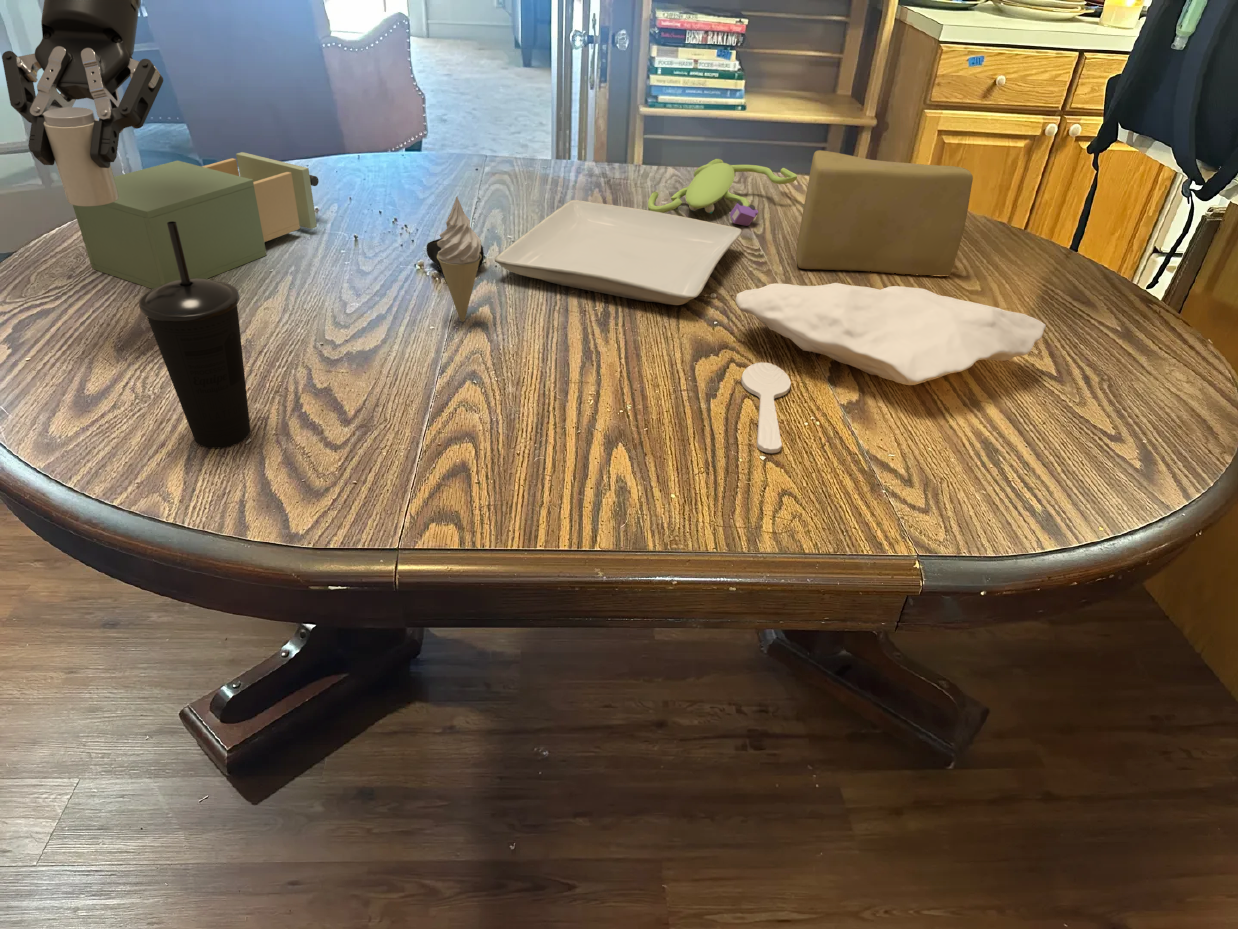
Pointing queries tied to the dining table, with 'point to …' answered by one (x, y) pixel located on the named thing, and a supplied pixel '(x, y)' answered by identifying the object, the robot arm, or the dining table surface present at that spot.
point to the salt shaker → (78, 157)
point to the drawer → (276, 192)
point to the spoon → (767, 401)
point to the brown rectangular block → (882, 215)
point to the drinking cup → (201, 351)
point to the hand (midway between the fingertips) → (71, 161)
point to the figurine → (719, 190)
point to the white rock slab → (892, 328)
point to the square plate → (621, 251)
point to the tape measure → (434, 249)
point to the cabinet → (190, 196)
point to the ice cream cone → (459, 257)
